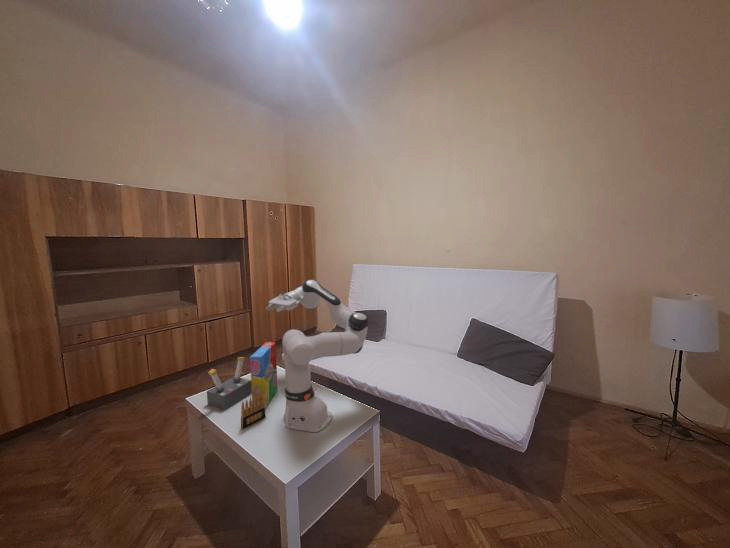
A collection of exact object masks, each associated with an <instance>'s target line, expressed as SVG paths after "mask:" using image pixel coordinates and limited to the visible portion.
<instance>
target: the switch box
mask: <svg viewBox="0 0 730 548" xmlns="http://www.w3.org/2000/svg"><path fill="white" fill-rule="evenodd" d="M221 383H222V385H223V386H224V387H225V389H224V390H223V391H220V390H216V386H213V387H212V388H210V389H208V390H207V391H206V398H207V399H206V401H207V405H208V404H209V405H208V406H211V405H212V407H215V408H217V409H221V410H224V411H226V410H227V409H229V408H231V407H232V406H234V405H236V404H237V403H239V402H241V401H242V400H243V399H245V398H246V397H249V395H252V387H251V379H247V378H243V377H241V380H240V382H237V381H233V377H231V378H229V379H227V380H225V381H224V382H221Z"/></svg>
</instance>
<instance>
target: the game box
mask: <svg viewBox="0 0 730 548" xmlns="http://www.w3.org/2000/svg"><path fill="white" fill-rule="evenodd" d="M276 346H277V345H276V341H265V342H264V343H263V344H262V345H261V346H260V347H259V348H258V349H257V350H256V351H255V352H254V353H253V354H252V355H250V356H249V363H250V364H249V365H250V380H251V387H252V393H251V400H252V406H253V397H255V399H256V404H257V395H259V400H260V396H261V393H262V395H263V401H264V407H265V410H266V409H267V408H268V406H269V404H270V402H271V401H272V400H273V398H274V396H275V395H276V393H277V392H278V389H279V388H278V368H277V347H276Z"/></svg>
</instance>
